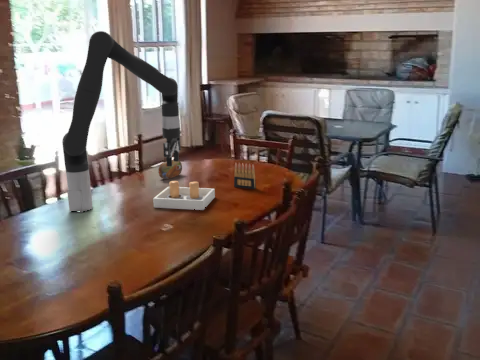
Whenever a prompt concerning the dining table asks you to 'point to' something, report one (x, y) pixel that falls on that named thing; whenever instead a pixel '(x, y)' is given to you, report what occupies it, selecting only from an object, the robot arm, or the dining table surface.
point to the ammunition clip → (244, 176)
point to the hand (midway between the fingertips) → (172, 163)
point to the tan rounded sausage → (174, 189)
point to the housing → (185, 198)
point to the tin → (170, 170)
